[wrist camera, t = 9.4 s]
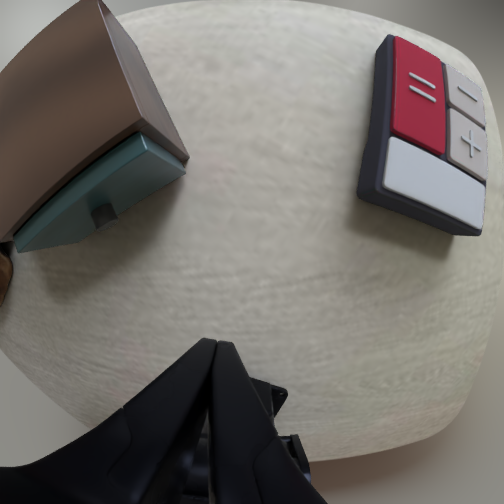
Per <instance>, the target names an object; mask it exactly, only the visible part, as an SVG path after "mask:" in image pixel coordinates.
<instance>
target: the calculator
mask: <svg viewBox="0 0 504 504" xmlns="http://www.w3.org/2000/svg"><path fill="white" fill-rule="evenodd" d="M485 126H486V119H485V110H484V102H483V95H482V90H481V88H480V87H479V86H478V85H477V84H476V83H474V82H473V81H472V80H470V79H469V78H468V77H466V76H465V75H463V74H462V73H461V72H459V71H458V70H456V69H455V68H453V67H452V66H450V65H448V64H445V63H443V62H441V61H440V59H439V58H437V57H436V56H434V55H432V54H431V53H429V52H427V51H425V50H424V49H422V48H420V47H418V46H416V45H414V44H413V43H411V42H409V41H407V40H405V39H403V38H401V37H398V36H393V35H390V34H389V35H387V36H386V38H385V39H384V41H383V42H382V43H381V45H380V46H379V48H378V49H377V51H376V65H375V80H374V92H373V103H372V112H371V121H370V129H369V136H368V141H367V144H366V147H365V150H364V153H363V159H362V165H361V171H360V176H359V182H358V187H357V197H358V198H359V199H361V200H364V201H367V202H370V203H372V204H375V205H378V206H381V207H384V208H387V209H389V210H392V211H395V212H398V213H400V214H403V215H406V216H408V217H411V218H413V219H416V220H419V221H421V222H424V223H426V224H429V225H431V226H433V227H436V228H438V229H441V230H443V231H445V232H448V233H450V234H452V235H460V236H480V235H481V232H482V226H483V217H484V207H485V195H486V180H487V176H488V152H487V134H486V132H485Z"/></svg>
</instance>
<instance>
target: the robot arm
mask: <svg viewBox="0 0 504 504" xmlns="http://www.w3.org/2000/svg"><path fill="white" fill-rule="evenodd" d="M280 393H284V394H283V395H280ZM287 396H288V392H287V390H286V389H284V388H281V387H277V386H274V385H270V383H267V382H264V381H260V380H257V379H254V378H251V377H249V375H248V373H247V371H246V369H245V367H244V365H243V363H242V361H241V359H240V356H239V354H238V352H237V350H236V348H235V346H234V344H233V343H232V342H227V341H218V342H217V341H216V340H214V339H208V338H202V339H200V340H199V341H198V342H197V343H196V344H195V345H194V346H193V347H191V348H190V349H189V350H188V351H187V352H186V353H185V354H183V355H182V356H181V357H180V358H179V359H178V360H177V361H175V362H174V363H173V364H172V365H171V366H170V367H169V368H167V369H166V370H165V371H164V372H163V373H162V374H160V375H159V376H158V377H157V378H156V379H155V380H153V381H152V382H151V383H150V384H149V385H147V386H146V387H145V388H144V389H143V390H142V391H140V392H139V393H138V394H137V395H136V396H134V397H133V398H132V399H131V400H130V401H128V402H127V403H126V404H125V405H124V406H123V408H120V409H118V410H117V411H116V412H115V413H114V414H112V415H111V416H110V417H109V418H107V419H106V420H105V421H103V422H102V423H101V424H99V425H98V426H97V427H95V428H94V429H92V430H90V431H89V432H87V433H86V434H84V435H83V436H81V437H79V438H78V439H76V440H74V441H73V442H71V443H69V444H67V445H66V446H64V447H62V448H60V449H58V450H56V451H55V452H53V453H51V454H49V455H47V456H45V457H44V458H42V459H40V460H38V461H35V462H33V463H30V464H27V465H23V466H17V467H0V504H327V502H326V501H325V500H324V499H323V498H322V496H321V495H320V494H319V493H318V492H317V491H316V489H315V488H314V487H313V486H312V485H311V475H310V467H309V463H308V460H307V457H306V454H305V452H304V449H303V447H302V444H301V441H300V439H299V436H298V434H295V435H290V436H279V435H278V432H277V430H276V428H275V427H274V418H275V416H276V415H277V413H278V411H279V410H280V408H281V406H282V405H283V403H284V402H285V400H286V398H287ZM277 435H278V436H277Z"/></svg>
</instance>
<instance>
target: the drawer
mask: <svg viewBox="0 0 504 504" xmlns="http://www.w3.org/2000/svg"><path fill="white" fill-rule="evenodd" d="M184 174H186V171H185V169H184V167H183V165H182V163H181V161H180V160H179V159H178V158H176V157H175V156H174V155H172V154H171V153H170V152H168V151H167V150H165V149H164V148H163V147H161V146H160V145H158V144H157V143H156V142H154V141H153V140H151V139H150V138H149V137H147V136H146V135H144V134H143V133H142V132H136V131H135V132H133V133H132V134H130V135H129V136H127V137H126V138H124V139H123V140H121V141H120V142H118V143H117V144H116V145H114V146H113V147H111V148H110V149H109V150H107V151H106V152H104V153H103V154H102V155H100V156H99V157H98V158H96V159H95V160H94V161H92V162H91V163H90V164H89V165H87V166H86V167H85V168H83V169H82V170H81V171H80V172H78V173H77V174H76V175H75V176H74V177H72V178H71V179H70V180H69V181H68V182H67V183H65V184H64V185H63V186H62V187H61V188H60V189H59V190H57V191H56V192H55V193H54V194H53V195H52V196H51V197H50V198H49V199H48V200H46V201H45V202H44V203H43V204H42V205H41V206H40V207H39V208H38V209H37V210H36V211H35V212H34V213H36V214H35V215H34V216H33V217H32V218H31V219H30V220H29V221H28V222H27V223H26V224H25V225H24V226H23V227H22V228H21V229H20V230H19V231H18V232H17V233H16V234H15V236H14V237H13V240H14V243H15V246H16V249H17V252H18V253H24V252H29V251H34V250H39V249H45V248H50V247H56V246H61V245H67V244H73V243H78V242H80V241H81V240H83V239H84V238H85V237H87V236H88V235H89V234H91V233H92V232H94V231H95V230H97V231H103V230H106V229H108V228H110V227H112V226H113V225H115V224H116V223H117V222H118V221H119V219H118V217H117V215H118V214H120V213H121V212H123V211H125V210H126V209H128V208H129V207H131V206H132V205H134V204H135V203H137V202H139V201H140V200H142V199H143V198H145V197H147V196H148V195H150V194H152V193H153V192H155V191H157V190H158V189H160V188H162V187H163V186H165V185H167V184H168V183H170V182H172V181H174V180H175V179H177V178H179V177H181V176H182V175H184Z"/></svg>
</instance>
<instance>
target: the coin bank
mask: <svg viewBox="0 0 504 504" xmlns="http://www.w3.org/2000/svg"><path fill="white" fill-rule="evenodd" d="M0 243H1V242H0ZM12 270H13V268H12V263H11V260H10V258H9V257H8V256H7V255H6V253H5V252H4V250H3V249H2V247H1V244H0V306H1V304H2V302H3V300H4V295H5V293H6V291H7V289H8V283H9V280H10V278H11V274H12Z"/></svg>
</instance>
